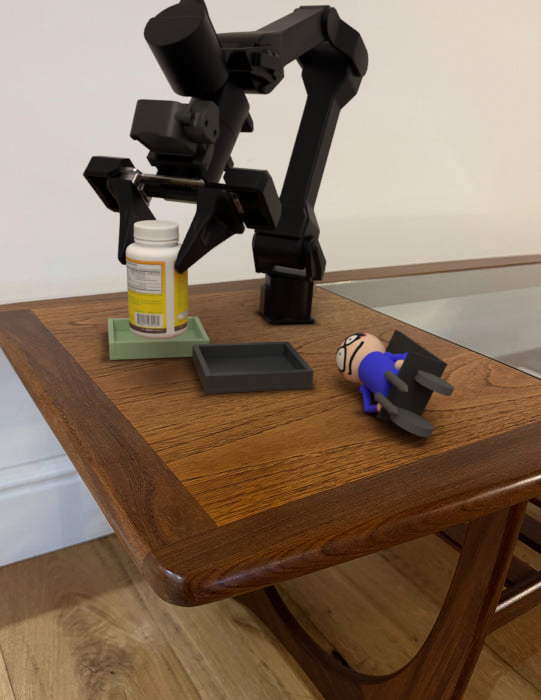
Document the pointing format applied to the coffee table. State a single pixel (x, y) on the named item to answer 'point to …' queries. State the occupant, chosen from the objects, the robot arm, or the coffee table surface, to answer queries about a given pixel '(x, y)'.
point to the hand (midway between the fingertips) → (148, 266)
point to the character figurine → (394, 377)
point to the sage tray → (152, 341)
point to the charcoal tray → (250, 367)
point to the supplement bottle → (156, 282)
